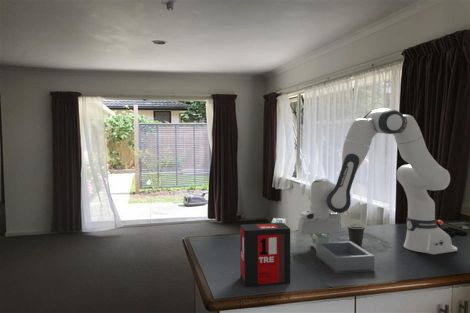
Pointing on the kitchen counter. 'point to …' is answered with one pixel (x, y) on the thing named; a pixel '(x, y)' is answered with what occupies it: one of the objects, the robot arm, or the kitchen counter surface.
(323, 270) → the kitchen counter surface
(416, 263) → the kitchen counter surface
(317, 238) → the small crate
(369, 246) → the kitchen counter surface
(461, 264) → the kitchen counter surface
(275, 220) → the light bulb box
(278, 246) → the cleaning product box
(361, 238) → the coffee cup
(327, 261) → the large crate
